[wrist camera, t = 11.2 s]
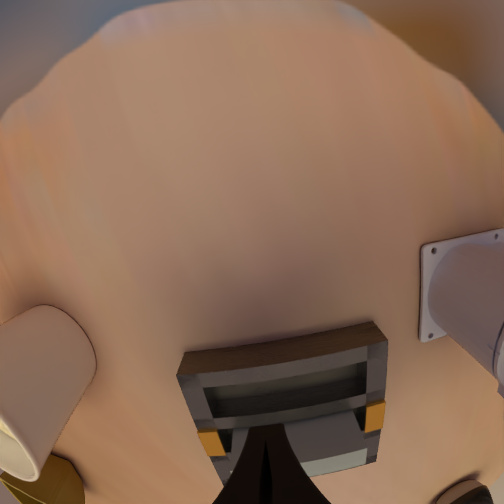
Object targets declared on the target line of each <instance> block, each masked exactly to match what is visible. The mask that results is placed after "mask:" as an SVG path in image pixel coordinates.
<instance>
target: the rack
mask: <svg viewBox="0 0 504 504" xmlns="http://www.w3.org/2000/svg"><path fill="white" fill-rule="evenodd" d="M387 357H388V339H387V338H386V337H385V336H384V334H383V333H382V332H381V330H380V329H379V328H378V327H377V325H376V324H375V323H374V322H373V321H371V322H367V323H362V324H358V325H354V326H349V327H345V328H340V329H335V330H330V331H325V332H320V333H315V334H310V335H305V336H299V337H294V338H288V339H282V340H276V341H270V342H263V343H257V344H250V345H243V346H236V347H228V348H220V349H212V350H203V351H193V352H185V353H184V356H183V358H182V361H181V364H180V366H179V369H178V371H177V374H176V377H177V379H178V382H179V385H180V387H181V390H182V393H183V395H184V398H185V400H186V403H187V405H188V408H189V410H190V413H191V415H192V418H193V420H194V423H195V425H196V427H197V430H198V431H197V434H198V436H199V438H200V440H201V443H202V445H203V447H204V449H205V451H206V454H207V456H209V457H210V459H211V461H212V463H213V465H214V467H215V469H216V471H217V473H218V475H219V477H220V479H221V481H222V483H223V485H224V486H225V484H226V483H227V481H228V479H229V477H230V475H231V472H230V463H231V450H232V437H233V428H240V427H250V426H259V425H267V424H275V423H281V422H288V421H294V420H300V419H306V418H311V417H316V416H321V415H326V414H331V413H335V412H340V411H344V410H348V409H352V410H353V413H354V415H355V418H356V420H357V423H358V425H359V428H360V430H361V433H362V436H363V438H364V441H365V443H366V446H367V455H366V463H365V464H369V463H372V462H376V458H377V452H378V446H379V439H380V432H381V428H383V421H384V413H385V404H386V402H385V400H384V398H385V387H386V374H387ZM365 464H363V465H365ZM360 466H362V465H360ZM356 467H358V466H356ZM352 468H354V467H352ZM348 469H350V468H348ZM344 470H346V469H344ZM340 471H342V470H340ZM336 472H338V471H336ZM331 473H333V472H331ZM326 474H328V473H326ZM321 475H323V474H321ZM316 476H318V475H316ZM311 477H313V476H311Z"/></svg>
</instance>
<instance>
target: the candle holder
mask: <svg viewBox="0 0 504 504" xmlns="http://www.w3.org/2000/svg"><path fill="white" fill-rule="evenodd" d="M95 371H96V359H95V354H94V351H93V348H92V345H91V343H90V341H89V339H88V337H87V336H86V334H85V333H84V331H83V330H82V329H81V327H80V326H79V325H78V324H77V323H76V322H75V321H74V320H73V319H72V318H71V317H70V316H69V315H67V314H66V313H65V312H63V311H61V310H60V309H58V308H55V307H52V306H48V305H39V306H35V307H33V308H30V309H28V310H26V311H24V312H23V313H21V314H19V315H17V316H15V317H13V318H12V319H10V320H8V321H6V322H4V323H3V324H1V325H0V468H1V469H3V470H4V471H6V472H7V473H9V474H11V475H12V476H14V477H16V478H19V479H21V480H24V481H29V482H32V481H36V480H37V479H38V478H39V476H40V473H41V470H42V468H43V466H44V464H45V462H46V460H47V458H48V457H49V455H50V453H51V451H52V449H53V447H54V445H55V444H56V442H57V440H58V438H59V436H60V435H61V433H62V431H63V429H64V428H65V426H66V424H67V422H68V421H69V419H70V417H71V415H72V414H73V412H74V410H75V409H76V407H77V405H78V403H79V402H80V400H81V398H82V397H83V395H84V393H85V392H86V390H87V388H88V386H89V385H90V383H91V381H92V379H93V377H94V375H95Z"/></svg>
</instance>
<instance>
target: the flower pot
mask: <svg viewBox="0 0 504 504" xmlns="http://www.w3.org/2000/svg"><path fill="white" fill-rule="evenodd" d="M0 481H1V482H2V483H3V484H4V485H5V487H6V488H7V489H8V490H9V491H10V492H11V493H12V495H13V496H14V497H15V498H16V499H17V500H18V501H19V502H20V503H21V504H85V494H84V488H83V483H82V480H81V479H80V477H79V476H78V474H77V472H76V471H75V469H74V468H73V466H72V464H71V463H70V462H69V461H67V460H64V459H62V458H59V457H57V456H54V455H52V454H50V455H49V457H48V458H47V460H46V462H45V464H44V466H43V468H42V470H41V473H40V476H39V478H38V479H37V480H36V481H32V482H29V481H24V480H21V479H19V478H16V477H14V476H12V475H11V474H9V473H7V472H6V471H4V472H3V473H2V474H1V475H0Z"/></svg>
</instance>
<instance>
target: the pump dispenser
mask: <svg viewBox="0 0 504 504" xmlns="http://www.w3.org/2000/svg"><path fill="white" fill-rule="evenodd" d="M436 504H494V503H493V500H492V497H491V494H490V492H489V490H488V488H487V486H486V485H483V484H481V483H480V482H478V481H475V480H468V481H464V482H461V483H459V484H457V485H455V486H453V487H452V488H450V489H449V490H447V491H446V492H445V493H444V494H443V495H442V496H441V497H440V498H439V500H438V501H437V503H436Z"/></svg>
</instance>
